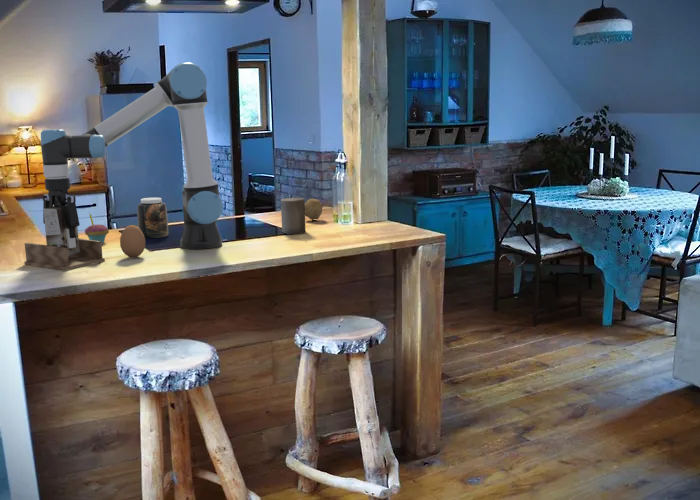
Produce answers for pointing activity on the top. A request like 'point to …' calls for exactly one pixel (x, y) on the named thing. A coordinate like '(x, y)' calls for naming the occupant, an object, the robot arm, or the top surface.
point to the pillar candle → (293, 215)
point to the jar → (152, 218)
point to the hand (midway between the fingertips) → (63, 246)
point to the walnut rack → (63, 255)
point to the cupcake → (96, 231)
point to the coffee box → (58, 229)
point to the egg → (132, 241)
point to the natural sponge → (313, 208)
